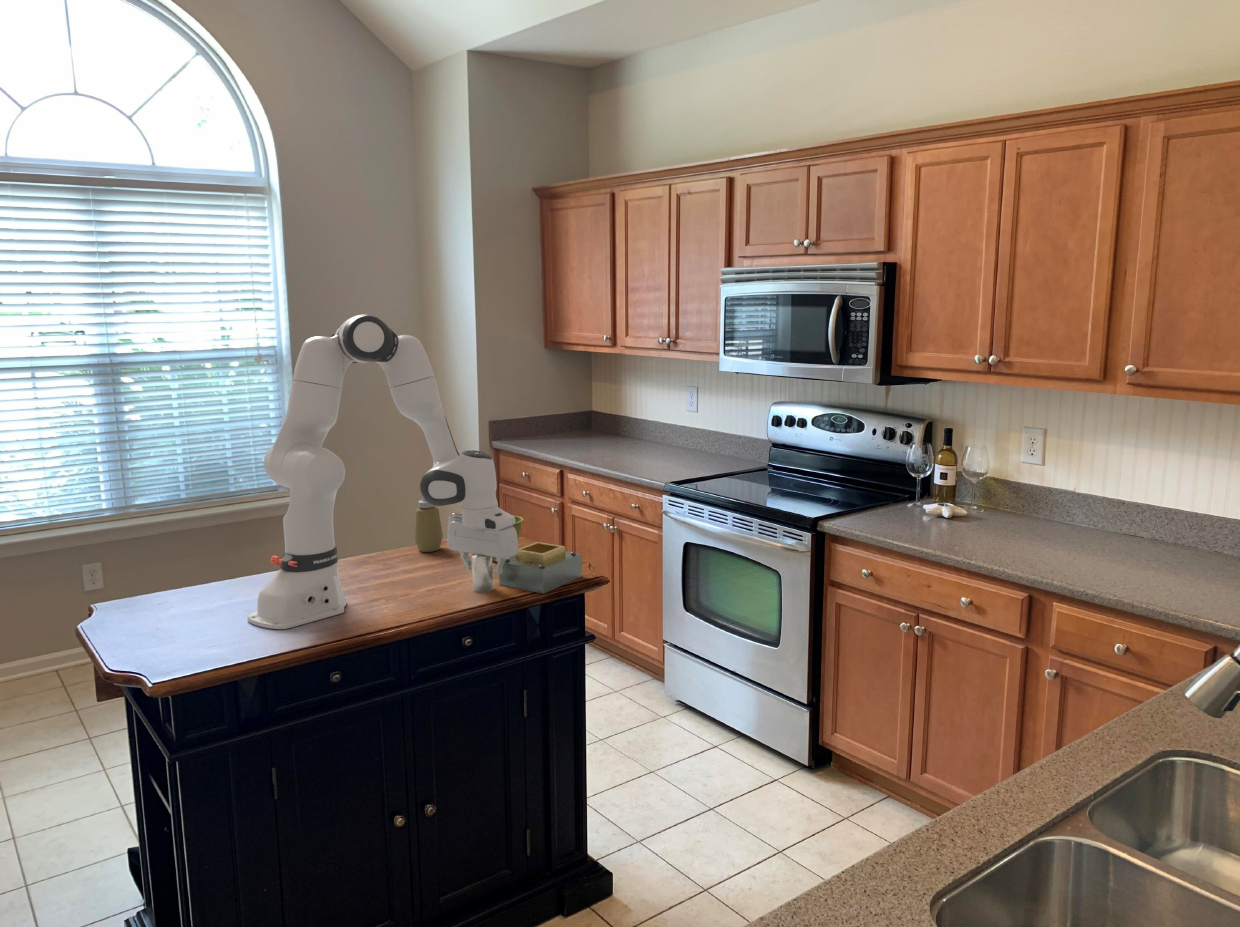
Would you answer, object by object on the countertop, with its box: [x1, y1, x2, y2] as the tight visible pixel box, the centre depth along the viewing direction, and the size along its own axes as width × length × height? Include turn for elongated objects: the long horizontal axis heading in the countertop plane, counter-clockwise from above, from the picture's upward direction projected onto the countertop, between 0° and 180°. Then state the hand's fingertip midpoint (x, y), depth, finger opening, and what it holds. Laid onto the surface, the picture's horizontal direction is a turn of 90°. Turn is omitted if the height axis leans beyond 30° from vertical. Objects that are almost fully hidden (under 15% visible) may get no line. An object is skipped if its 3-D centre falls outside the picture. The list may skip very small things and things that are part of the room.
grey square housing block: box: [498, 541, 583, 594], centre depth 241 cm, size 16×14×8 cm
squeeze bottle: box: [413, 495, 444, 553], centre depth 270 cm, size 8×8×18 cm
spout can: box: [470, 553, 494, 594], centre depth 234 cm, size 5×5×11 cm
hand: (483, 571), depth 235 cm, fingers open, 8 cm apart
